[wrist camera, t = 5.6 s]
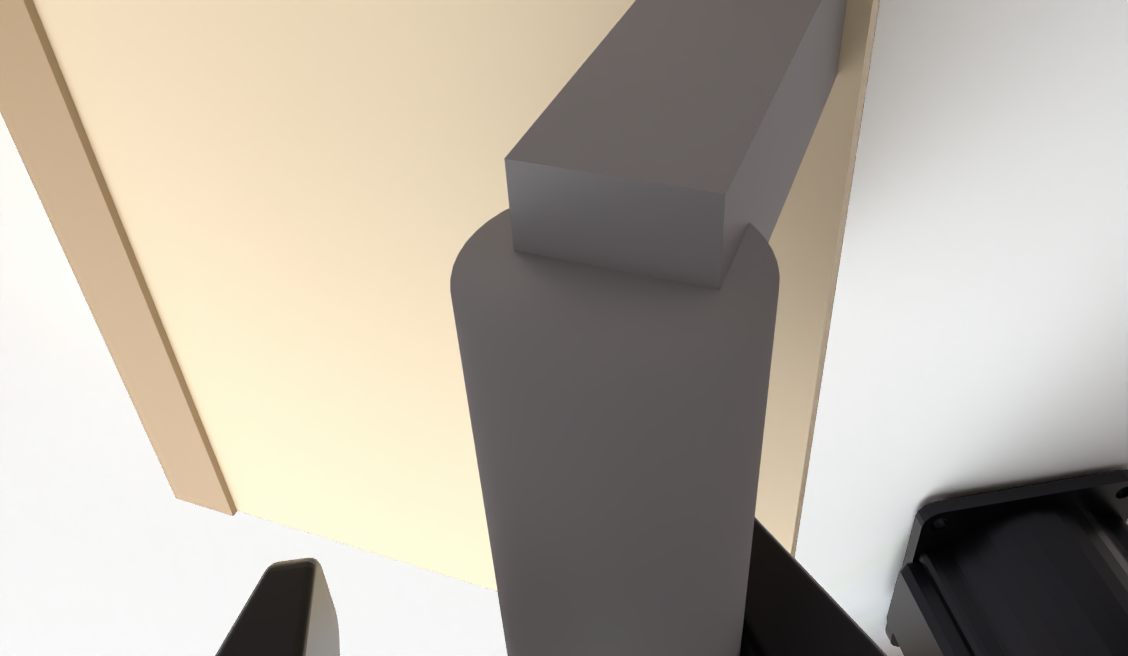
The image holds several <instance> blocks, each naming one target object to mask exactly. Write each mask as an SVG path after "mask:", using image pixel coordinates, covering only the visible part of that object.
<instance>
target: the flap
mask: <svg viewBox="0 0 1128 656" xmlns="http://www.w3.org/2000/svg"><path fill="white" fill-rule="evenodd" d="M879 2H880V0H0V112H1V114H2V117H3V119H4V121H5V123H6V125H7V128H8V130H9V132H10V134H11V136H12V139H13V141H14V143H15V145H16V147H17V150H18V152H19V154H20V156H21V158H22V161H23V163H24V165H25V167H26V169H27V172H28V174H29V176H30V178H31V180H32V183H33V185H34V187H35V189H36V191H37V194H38V196H39V198H40V200H41V202H42V204H43V207H44V209H45V211H46V213H47V215H48V218H49V220H50V222H51V224H52V226H53V229H54V231H55V233H56V235H57V237H58V240H59V242H60V244H61V246H62V248H63V251H64V253H65V255H66V257H67V259H68V262H69V264H70V266H71V268H72V270H73V273H74V275H75V277H76V279H77V281H78V284H79V286H80V288H81V290H82V292H83V295H84V297H85V299H86V301H87V303H88V306H89V308H90V310H91V312H92V314H93V317H94V319H95V321H96V323H97V325H98V328H99V330H100V332H101V334H102V336H103V339H104V341H105V343H106V345H107V347H108V350H109V352H110V354H111V356H112V358H113V361H114V363H115V365H116V367H117V369H118V372H119V374H120V376H121V378H122V380H123V383H124V385H125V387H126V389H127V391H128V394H129V396H130V398H131V400H132V402H133V405H134V407H135V409H136V411H137V413H138V416H139V418H140V420H141V422H142V424H143V427H144V429H145V431H146V433H147V435H148V438H149V440H150V442H151V444H152V446H153V449H154V451H155V453H156V455H157V457H158V460H159V462H160V464H161V466H162V468H163V471H164V473H165V475H166V477H167V479H168V482H169V484H170V486H171V488H172V490H173V492H174V495H175V497H176V498H177V499H181V500H184V501H187V502H190V503H193V504H197V505H200V506H203V507H206V508H209V509H213V510H216V511H219V512H222V513H225V514H229V515H232V516H233V515H234V514H235V513H236V512H237V511H240V512H243V513H246V514H249V515H253V516H256V517H259V518H262V519H266V520H269V521H272V522H275V523H278V524H282V525H285V526H288V527H291V528H295V529H298V530H301V531H304V532H307V533H311V534H314V535H317V536H320V537H323V538H327V539H330V540H333V541H336V542H340V543H343V544H346V545H349V546H352V547H356V548H359V549H362V550H365V551H368V552H372V553H375V554H378V555H381V556H385V557H388V558H391V559H394V560H397V561H401V562H404V563H407V564H410V565H414V566H417V567H420V568H423V569H426V570H430V571H433V572H436V573H439V574H442V575H446V576H449V577H452V578H455V579H459V580H462V581H465V582H468V583H471V584H475V585H478V586H481V587H484V588H488V589H491V590H494V591H497V592H498V597H499V604H500V610H501V616H502V623H503V629H504V635H505V642H506V648H507V654H508V656H740V649H741V639H742V630H743V621H744V611H745V602H746V593H747V584H748V574H749V565H750V556H751V546H752V537H753V528H754V518H755V517H756V518H757V520H758V521H759V522H760V523H761V524H762V525H763V526H764V527H765V528H766V529H767V530H768V531H769V532H770V533H771V534H772V535H773V536H774V537H775V538H776V539H777V541H778V542H779V543H780V544H781V545H782V546H783V547H784V548H785V549H786V550H787V551H788V552H789V553H790V554H791V555H792V556H793V557H794V558H795V551H796V545H797V538H798V532H799V525H800V518H801V512H802V505H803V499H804V492H805V486H806V479H807V473H808V466H809V460H810V453H811V447H812V440H813V433H814V427H815V420H816V414H817V407H818V401H819V394H820V388H821V381H822V375H823V368H824V362H825V355H826V348H827V342H828V335H829V329H830V322H831V316H832V309H833V303H834V296H835V290H836V283H837V277H838V270H839V263H840V257H841V250H842V244H843V237H844V231H845V224H846V218H847V211H848V205H849V198H850V192H851V185H852V179H853V172H854V165H855V159H856V152H857V146H858V139H859V133H860V126H861V120H862V113H863V107H864V100H865V94H866V87H867V80H868V74H869V67H870V61H871V54H872V48H873V41H874V35H875V28H876V22H877V15H878V9H879Z"/></svg>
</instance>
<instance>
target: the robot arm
mask: <svg viewBox="0 0 1128 656" xmlns="http://www.w3.org/2000/svg"><path fill="white" fill-rule="evenodd" d="M1127 518H1128V470H1119V471H1114V472H1108V473H1102V474H1096V475H1090V476H1084V477H1078V478H1072V479H1066V480H1060V481H1054V482H1048V483H1042V484H1036V485H1031V486H1025V487H1019V488H1013V489H1007V490H1001V491H995V492H989V493H983V494H977V495H971V496H965V497H959V498H954V499H948V500H942V501H936V502H932V503H929V504H927V505H925V506H924V507H922V508H921V509H920V510H919V511H918V512H917V514H916V516H915V520H914V524H913V528H912V531H911V535H910V539H909V543H908V546H907V550H906V554H905V558H904V562H903V565H902V568H901V569H900V571H899V574H898V578H897V581H896V585H895V589H894V593H893V597H892V600H891V604H890V608H889V612H888V616H887V621H888V622H887V625H886V634H887V636H888V638H889V640H890V642H891V644H892V645H893V646H897V647H900V648H901V650H902V652H903V654H904V656H1128V525H1127V523H1126V520H1127ZM215 656H340V651H339V629H338V621H337V615H336V611H335V607H334V604H333V601H332V598H331V595H330V592H329V589H328V585H327V582H326V579H325V576H324V573H323V570H322V567H321V565H320V563H319V562H318V561H317V560H316V559H314V558H303V559H296V560H289V561H281V562H276V563H273V564H272V565H271V566H269V567H268V568H267V569H266V571H265V572H264V574H263V575H262V577H261V579H260V581H259V582H258V584H257V586H256V587H255V589H254V591H253V592H252V594H251V596H250V598H249V599H248V601H247V603H246V604H245V606H244V608H243V609H242V611H241V613H240V615H239V616H238V618H237V620H236V621H235V623H234V625H233V626H232V628H231V630H230V632H229V633H228V635H227V637H226V638H225V640H224V642H223V644H222V645H221V647H220V649H219V650H218V652H217V654H216V655H215ZM740 656H887V655H886V654H885V653H884V652H883V651H882V650H881V649H880V648H879V647H878V645H877V644H876V643H875V642H874V641H873V640H872V639H871V638H870V637H869V636H868V635H867V634H866V633H865V632H864V631H863V630H862V629H861V628H860V627H859V626H858V624H857V623H856V622H855V621H854V620H853V619H852V618H851V617H850V616H849V615H848V614H847V613H846V612H845V611H844V610H843V609H842V608H841V607H840V606H839V605H838V603H837V602H836V601H835V600H834V599H833V598H832V597H831V596H830V595H829V594H828V593H827V592H826V591H825V590H824V589H823V588H822V587H821V586H820V585H819V584H818V583H817V581H816V580H815V579H814V578H813V577H812V576H811V575H810V574H809V573H808V572H807V571H806V570H805V569H804V568H803V567H802V566H801V565H800V564H799V563H798V562H797V560H796V559H795V558H794V557H793V556H792V555H791V554H790V553H789V552H788V551H787V550H786V549H785V548H784V547H783V546H782V545H781V544H780V543H779V542H778V541H777V539H776V538H775V537H774V536H773V535H772V534H771V533H770V532H769V531H768V530H767V529H766V528H765V527H764V526H763V525H762V524H761V523H760V522H759V521H758V520H757V518H756V517H755V518H754V528H753V537H752V546H751V556H750V565H749V574H748V584H747V593H746V602H745V611H744V621H743V630H742V639H741V649H740Z"/></svg>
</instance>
